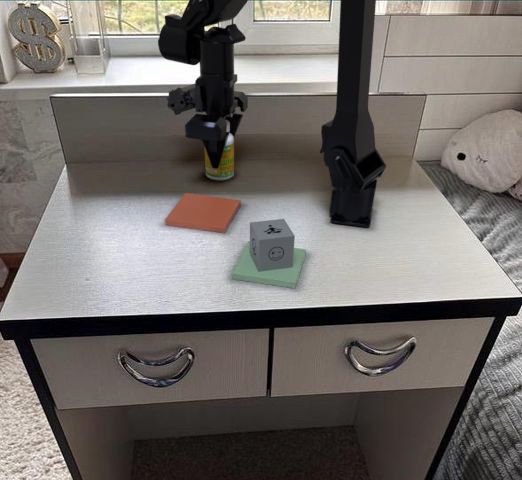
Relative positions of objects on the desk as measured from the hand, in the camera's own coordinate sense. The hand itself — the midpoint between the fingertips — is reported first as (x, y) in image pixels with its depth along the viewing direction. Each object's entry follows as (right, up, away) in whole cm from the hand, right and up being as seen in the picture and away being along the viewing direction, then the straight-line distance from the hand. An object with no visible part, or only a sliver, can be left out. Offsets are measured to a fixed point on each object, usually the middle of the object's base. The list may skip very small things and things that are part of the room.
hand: (219, 162), depth 98 cm
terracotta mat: (-2, -13, -10) cm, 16 cm away
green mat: (+9, -23, -22) cm, 33 cm away
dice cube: (+9, -22, -22) cm, 33 cm away
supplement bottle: (0, -2, +2) cm, 3 cm away
